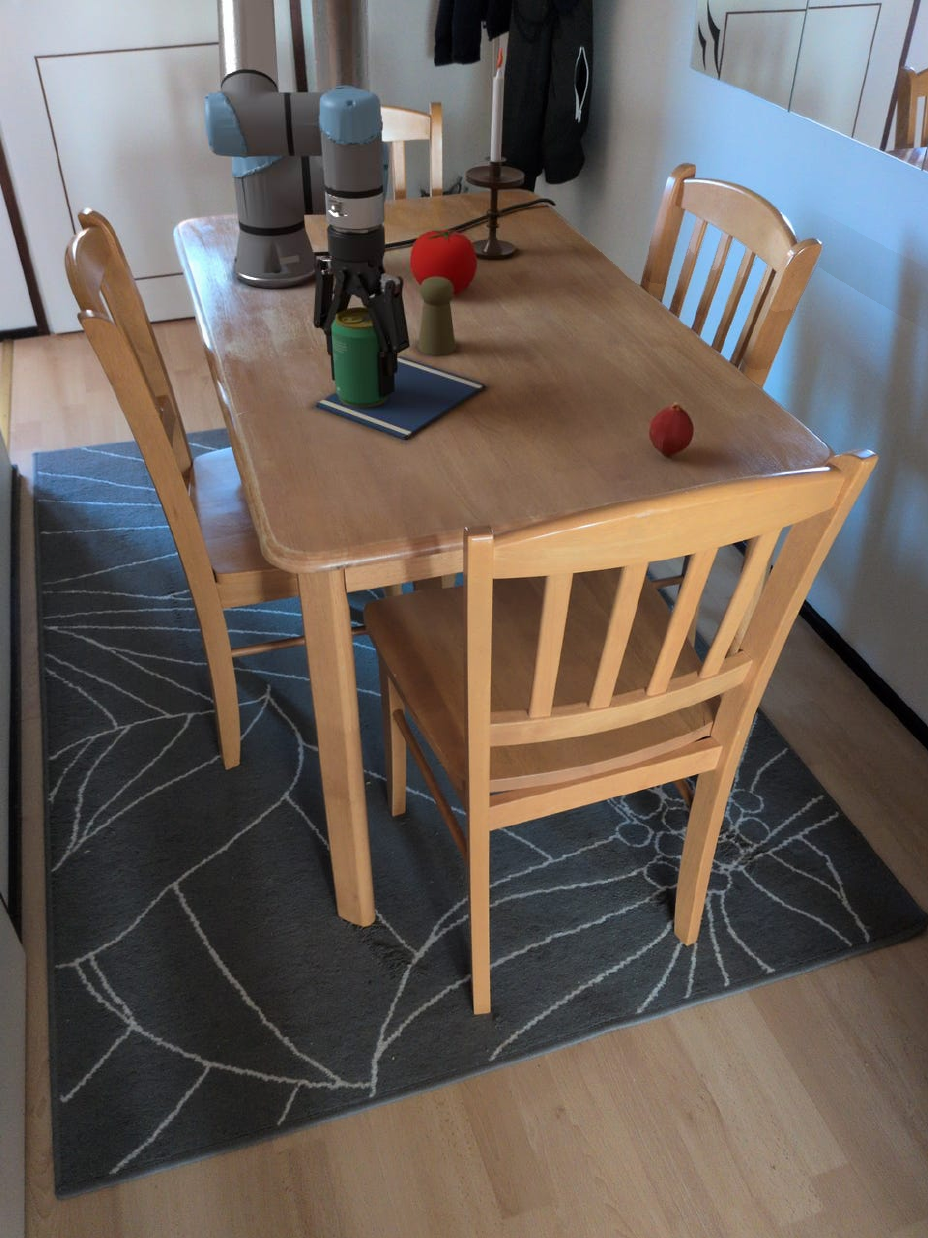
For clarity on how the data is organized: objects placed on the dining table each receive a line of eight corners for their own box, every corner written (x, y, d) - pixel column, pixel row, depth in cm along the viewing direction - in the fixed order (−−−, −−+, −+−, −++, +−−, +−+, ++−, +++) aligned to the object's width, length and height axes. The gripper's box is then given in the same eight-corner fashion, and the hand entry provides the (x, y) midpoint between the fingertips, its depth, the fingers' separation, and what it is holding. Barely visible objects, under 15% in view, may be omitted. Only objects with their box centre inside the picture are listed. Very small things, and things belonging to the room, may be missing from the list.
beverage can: (394, 406, 143) (393, 326, 135) (339, 411, 141) (334, 330, 134) (386, 381, 149) (384, 303, 141) (333, 385, 147) (327, 307, 140)
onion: (641, 445, 137) (649, 391, 132) (682, 444, 137) (692, 391, 132) (651, 467, 132) (659, 412, 127) (693, 466, 133) (703, 412, 128)
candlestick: (485, 238, 200) (492, 39, 177) (530, 250, 195) (543, 47, 173) (453, 253, 193) (456, 48, 171) (499, 265, 188) (508, 56, 166)
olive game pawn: (451, 357, 157) (452, 288, 150) (413, 352, 158) (413, 284, 151) (458, 341, 162) (460, 274, 155) (422, 337, 162) (422, 270, 155)
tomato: (487, 297, 176) (489, 237, 169) (427, 307, 172) (427, 246, 165) (457, 274, 184) (459, 216, 178) (400, 283, 180) (399, 224, 173)
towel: (400, 358, 156) (400, 355, 156) (484, 387, 149) (485, 383, 149) (315, 406, 143) (315, 403, 143) (404, 440, 136) (404, 436, 136)
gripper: (276, 215, 131) (291, 375, 146) (401, 249, 123) (404, 415, 137) (314, 201, 136) (325, 357, 151) (437, 233, 127) (436, 395, 142)
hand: (363, 385), depth 144 cm, fingers closed on beverage can, 8 cm apart
